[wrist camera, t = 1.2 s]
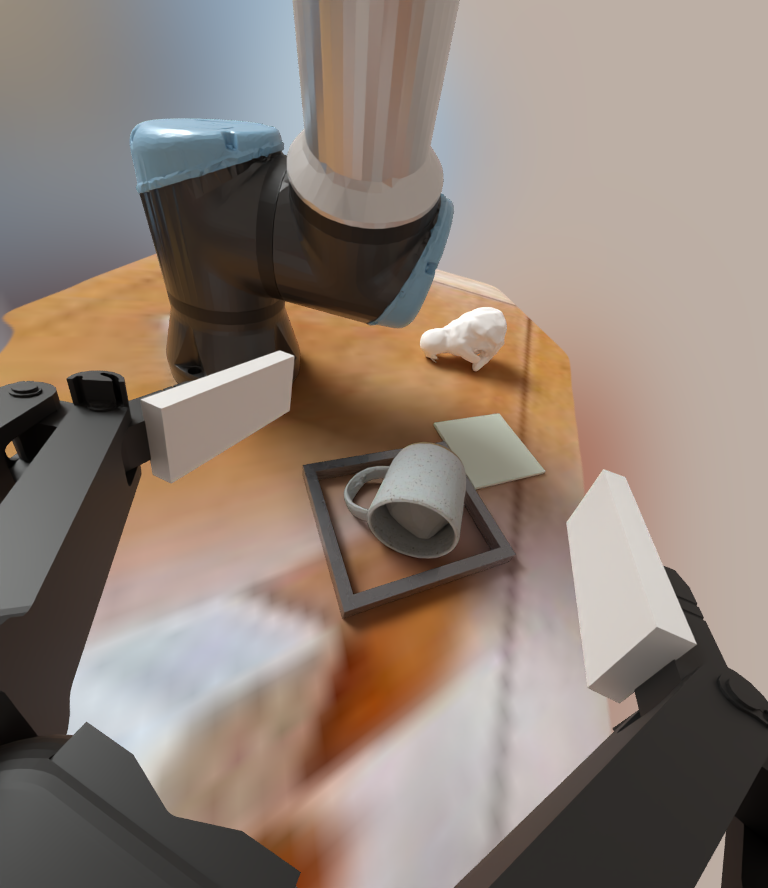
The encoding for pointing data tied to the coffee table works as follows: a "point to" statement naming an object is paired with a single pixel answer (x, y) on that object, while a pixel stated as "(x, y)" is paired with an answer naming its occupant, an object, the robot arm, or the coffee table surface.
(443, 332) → the white figurine
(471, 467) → the grey-green mat
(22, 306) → the coffee table surface
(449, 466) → the ceramic mug
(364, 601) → the square frame
